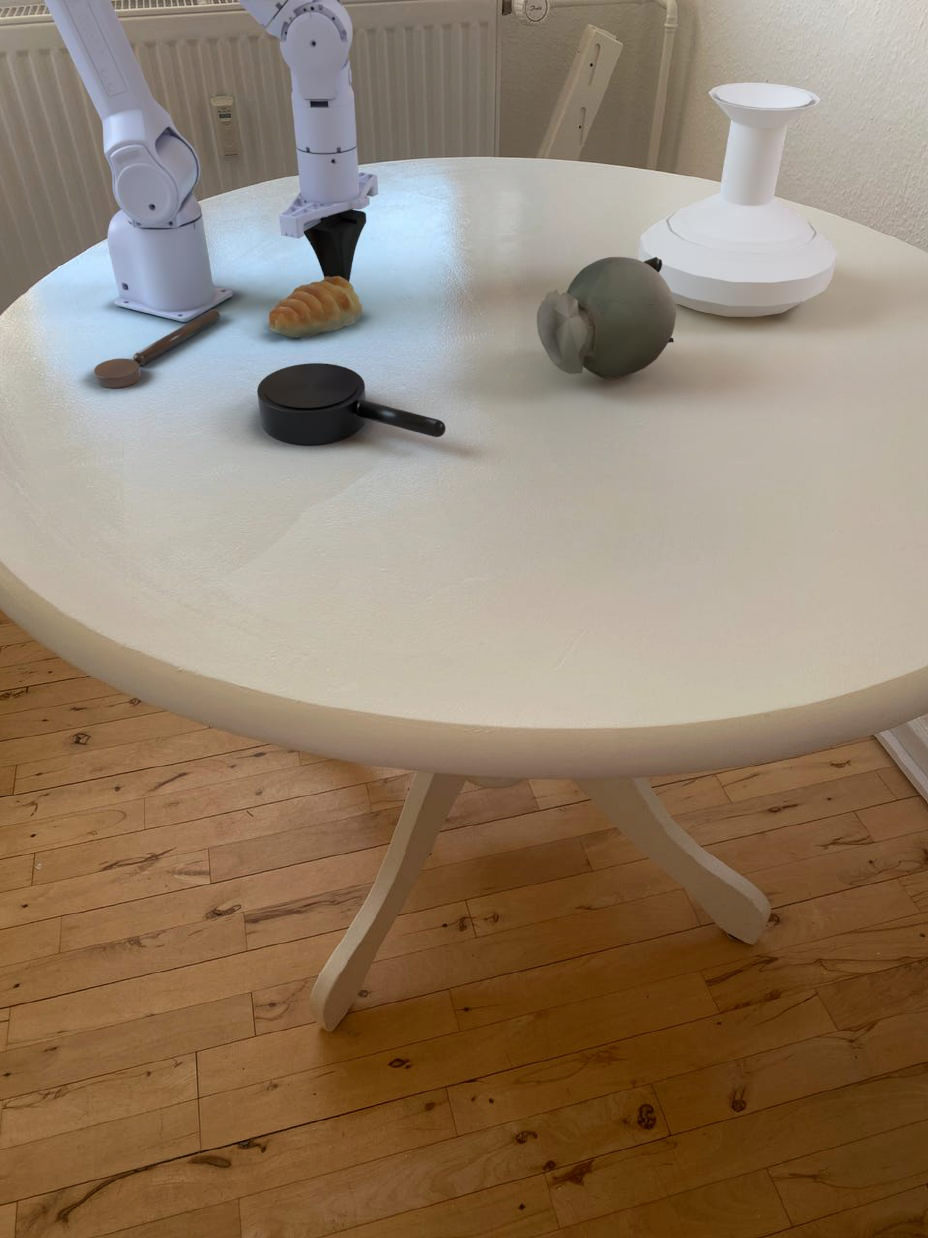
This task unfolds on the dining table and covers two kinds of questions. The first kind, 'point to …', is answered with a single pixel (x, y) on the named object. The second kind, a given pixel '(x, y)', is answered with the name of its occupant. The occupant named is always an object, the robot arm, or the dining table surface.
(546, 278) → the dining table surface
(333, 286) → the pastry
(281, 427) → the pan
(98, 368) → the spoon
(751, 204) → the candle holder
